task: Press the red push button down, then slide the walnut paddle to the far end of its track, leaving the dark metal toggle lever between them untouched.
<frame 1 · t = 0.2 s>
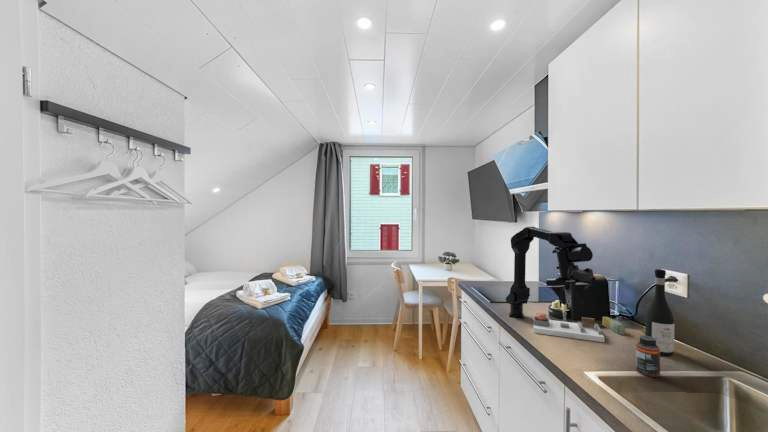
hand: (573, 303, 127), 15 cm above the countertop, tool pointing down, fingers open, 9 cm apart
push button: (541, 316, 143), point 5 cm above the countertop, slide at 0.0 cm
toggle lever: (564, 314, 140), point 7 cm above the countertop, hinge at -20.0°
medication box: (613, 330, 141), on the countertop
supplement bottle: (647, 373, 103), on the countertop
control panel: (565, 331, 139), on the countertop
paddle: (588, 322, 138), point 4 cm above the countertop, slide at 0.0 cm
wine bottle: (659, 352, 119), on the countertop
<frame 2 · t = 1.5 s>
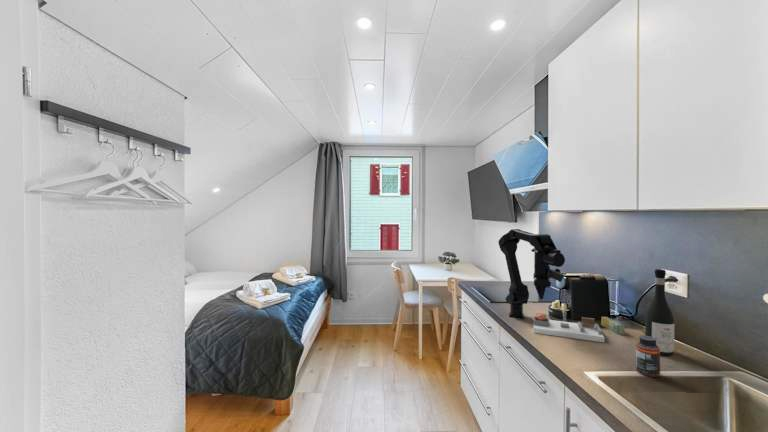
hand: (541, 298, 142), 13 cm above the countertop, tool pointing down, fingers closed
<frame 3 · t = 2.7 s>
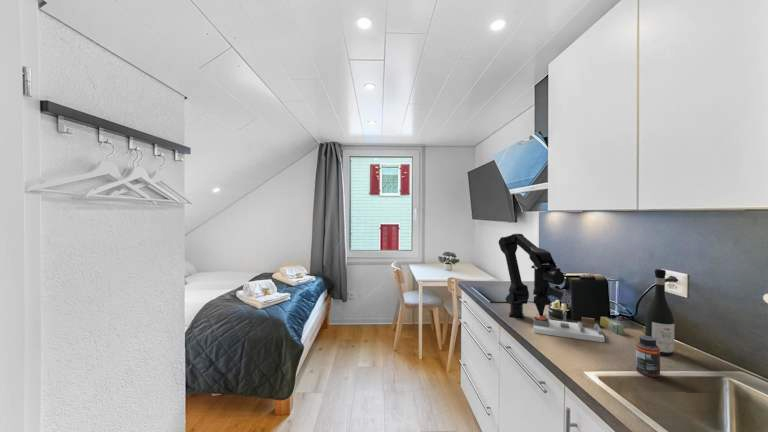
hand: (541, 315, 143), 6 cm above the countertop, tool pointing down, fingers closed, pressing on push button
push button: (541, 317, 143), point 5 cm above the countertop, slide at 0.4 cm, touching gripper
everything else where it was.
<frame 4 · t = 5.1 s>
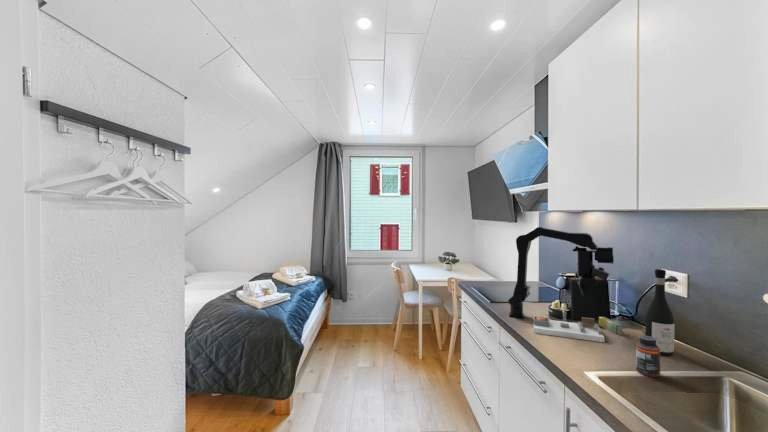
hand: (585, 297, 143), 13 cm above the countertop, tool pointing down, fingers closed
push button: (541, 320, 143), point 3 cm above the countertop, slide at 1.6 cm
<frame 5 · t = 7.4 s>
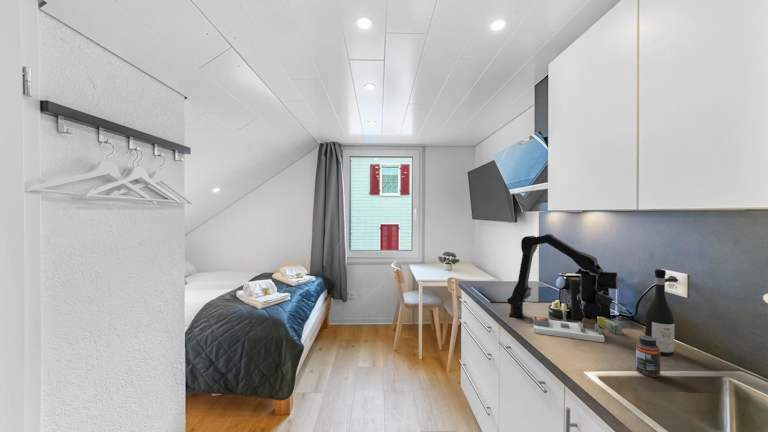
hand: (588, 322, 138), 4 cm above the countertop, tool pointing down, fingers closed
paddle: (588, 323, 137), point 4 cm above the countertop, slide at 1.5 cm, touching gripper
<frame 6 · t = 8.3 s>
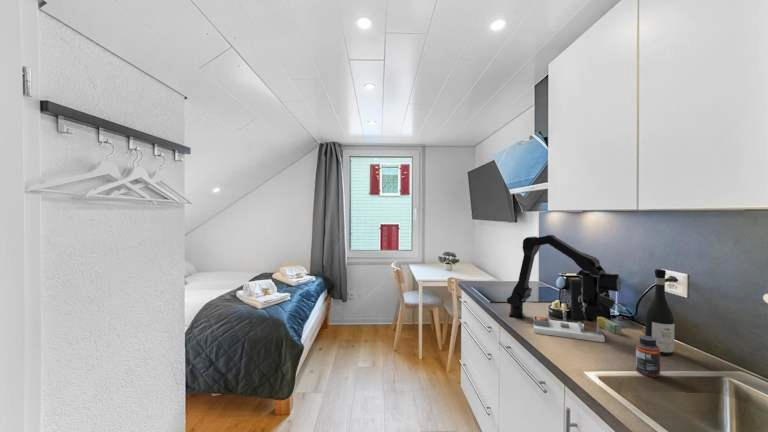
hand: (589, 324, 135), 4 cm above the countertop, tool pointing down, fingers closed
paddle: (590, 326, 133), point 4 cm above the countertop, slide at 5.0 cm, touching gripper
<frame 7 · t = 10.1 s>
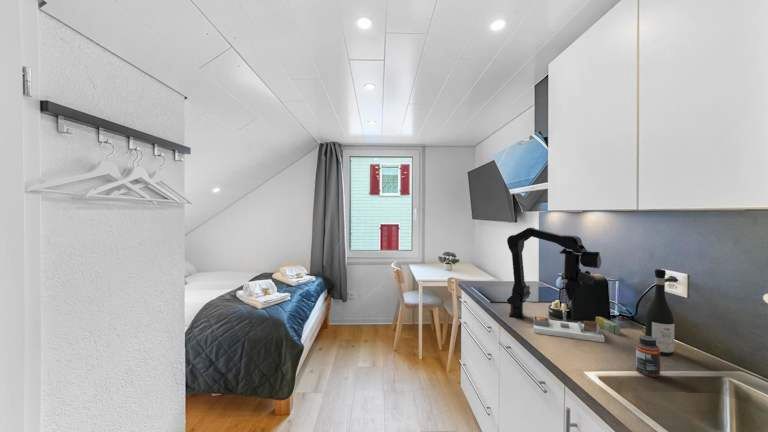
hand: (570, 300, 142), 12 cm above the countertop, tool pointing down, fingers closed
paddle: (590, 326, 133), point 4 cm above the countertop, slide at 5.0 cm
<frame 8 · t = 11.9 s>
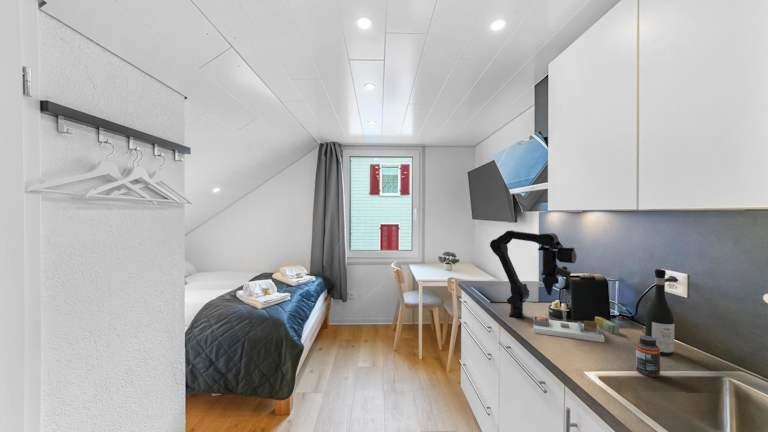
hand: (549, 295, 148), 13 cm above the countertop, tool pointing down, fingers closed
at the end: push button slide at 1.6 cm; paddle slide at 5.0 cm; toggle lever at -20° (first picture: -20°) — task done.
